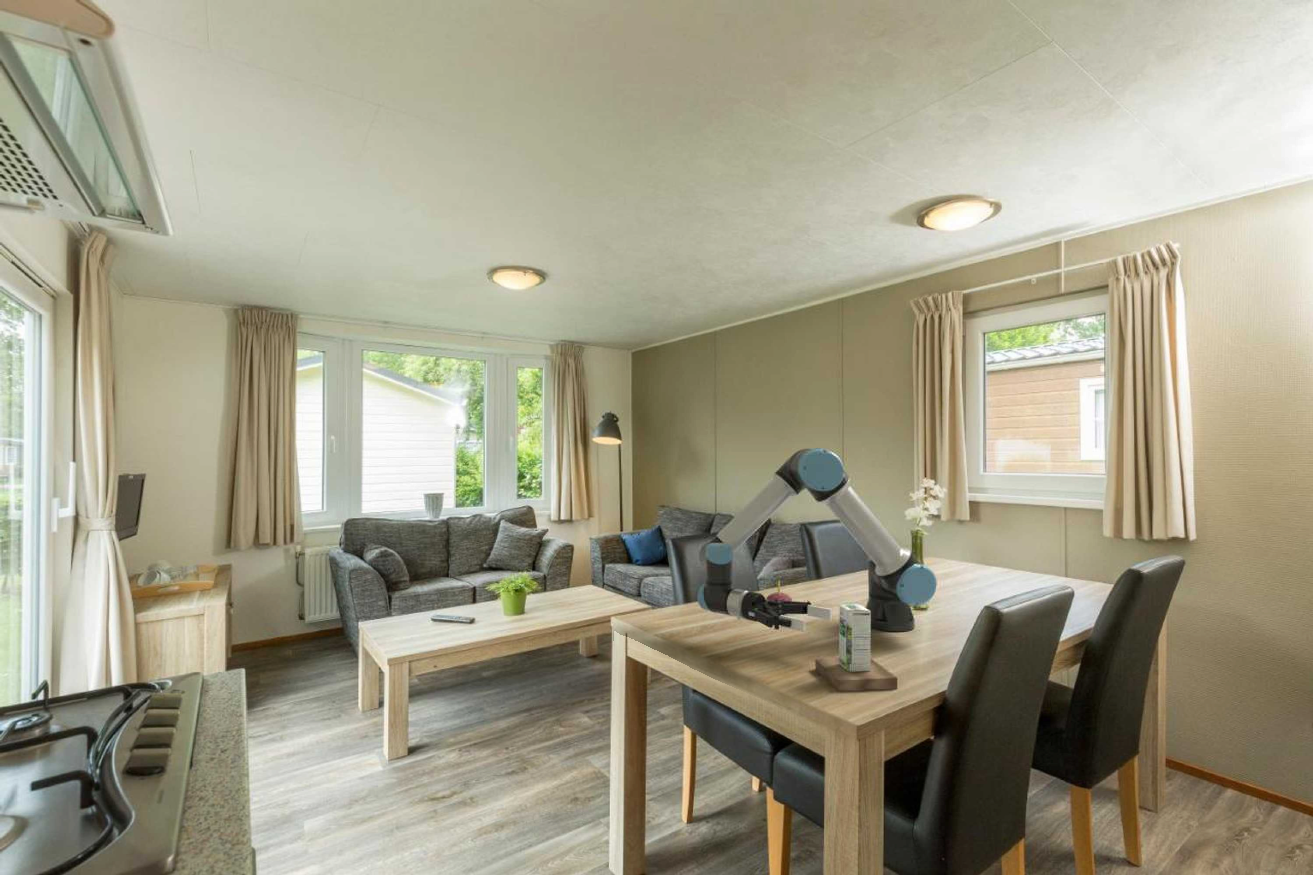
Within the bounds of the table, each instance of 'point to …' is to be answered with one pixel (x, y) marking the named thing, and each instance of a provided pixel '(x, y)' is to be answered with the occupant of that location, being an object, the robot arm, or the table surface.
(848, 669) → the syrup box
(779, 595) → the cupcake
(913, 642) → the table surface
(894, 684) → the walnut board
